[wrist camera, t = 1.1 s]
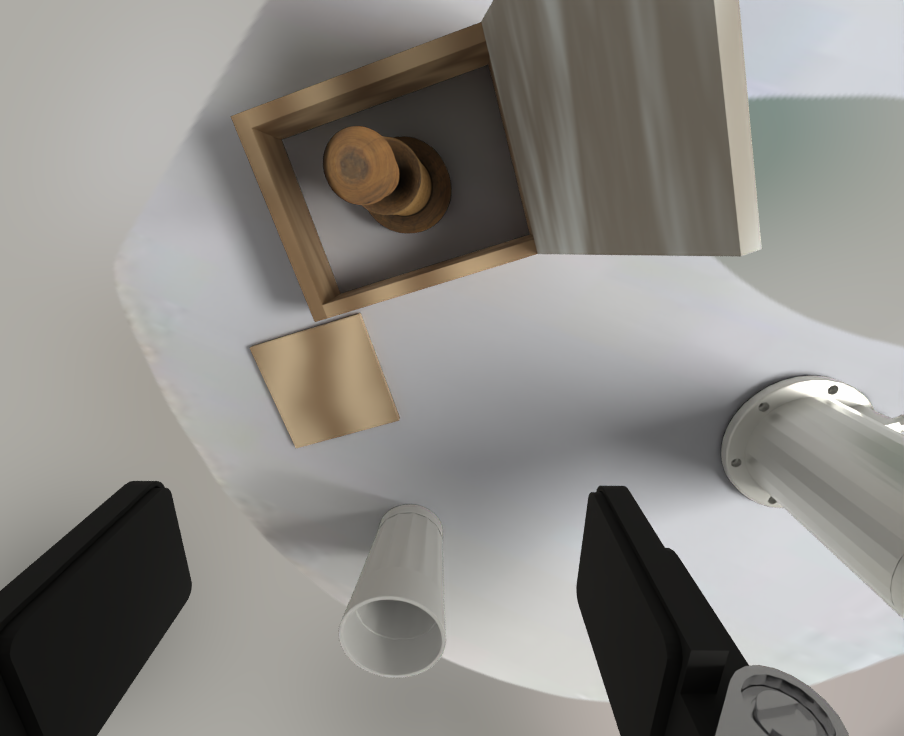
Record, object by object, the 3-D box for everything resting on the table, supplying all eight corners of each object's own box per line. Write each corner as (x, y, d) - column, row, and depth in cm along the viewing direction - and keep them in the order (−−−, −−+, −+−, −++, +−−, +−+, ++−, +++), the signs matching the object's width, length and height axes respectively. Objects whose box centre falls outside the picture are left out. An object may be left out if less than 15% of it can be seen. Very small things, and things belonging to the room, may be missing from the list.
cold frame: (551, 23, 31) (713, -337, 11) (593, 228, 35) (765, 249, 15) (263, 129, 34) (-45, 3, 13) (333, 308, 38) (179, 418, 18)
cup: (354, 524, 45) (316, 629, 34) (416, 482, 43) (398, 578, 32) (405, 576, 47) (386, 692, 35) (467, 538, 45) (467, 648, 34)
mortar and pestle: (468, 178, 34) (470, 144, 17) (420, 249, 36) (379, 282, 19) (395, 121, 33) (321, 25, 16) (349, 197, 35) (239, 183, 18)
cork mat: (360, 312, 38) (358, 314, 37) (399, 417, 41) (398, 420, 40) (252, 345, 39) (249, 347, 39) (298, 445, 42) (296, 448, 42)
